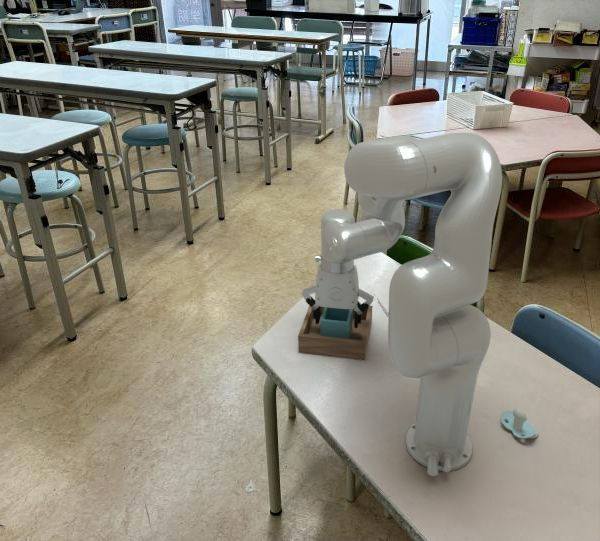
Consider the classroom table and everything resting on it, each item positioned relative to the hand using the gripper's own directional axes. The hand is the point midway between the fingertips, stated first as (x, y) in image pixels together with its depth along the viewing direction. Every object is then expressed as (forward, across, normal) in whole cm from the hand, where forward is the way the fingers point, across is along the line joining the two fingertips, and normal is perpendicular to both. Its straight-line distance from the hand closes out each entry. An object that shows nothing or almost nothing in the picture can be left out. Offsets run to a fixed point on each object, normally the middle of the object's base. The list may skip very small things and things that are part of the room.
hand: (337, 322), depth 135 cm
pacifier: (+5, +41, -23) cm, 47 cm away
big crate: (+4, 0, 0) cm, 4 cm away
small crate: (+3, 0, 0) cm, 3 cm away
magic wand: (+5, +11, +13) cm, 18 cm away
